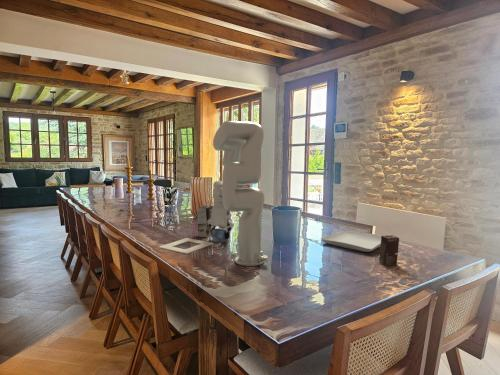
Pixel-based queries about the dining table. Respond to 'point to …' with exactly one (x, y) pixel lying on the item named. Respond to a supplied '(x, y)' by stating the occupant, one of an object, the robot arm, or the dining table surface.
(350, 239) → the square plate
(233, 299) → the dining table surface
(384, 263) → the box
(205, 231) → the coffee box
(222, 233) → the blue cube
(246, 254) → the robot arm
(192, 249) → the card
